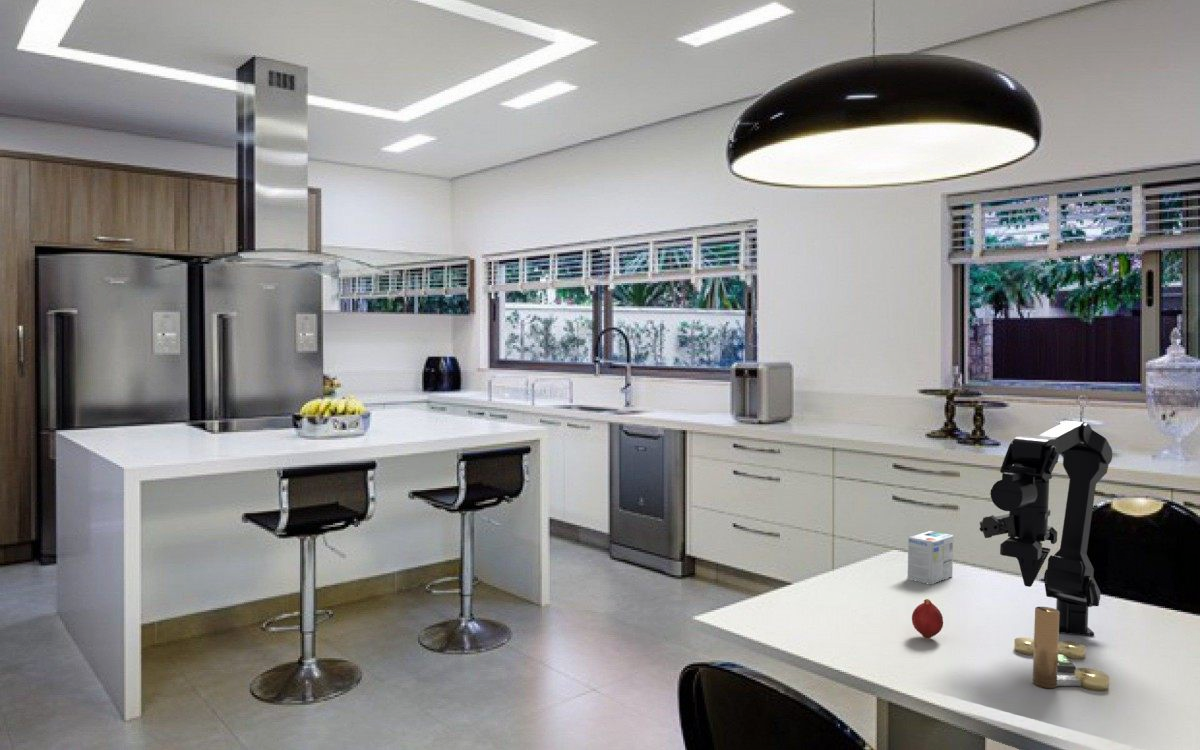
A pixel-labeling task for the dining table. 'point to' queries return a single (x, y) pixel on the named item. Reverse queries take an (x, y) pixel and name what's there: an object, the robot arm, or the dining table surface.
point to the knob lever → (1048, 657)
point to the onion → (927, 619)
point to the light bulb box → (930, 557)
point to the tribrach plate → (1064, 652)
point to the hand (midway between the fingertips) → (1028, 586)
